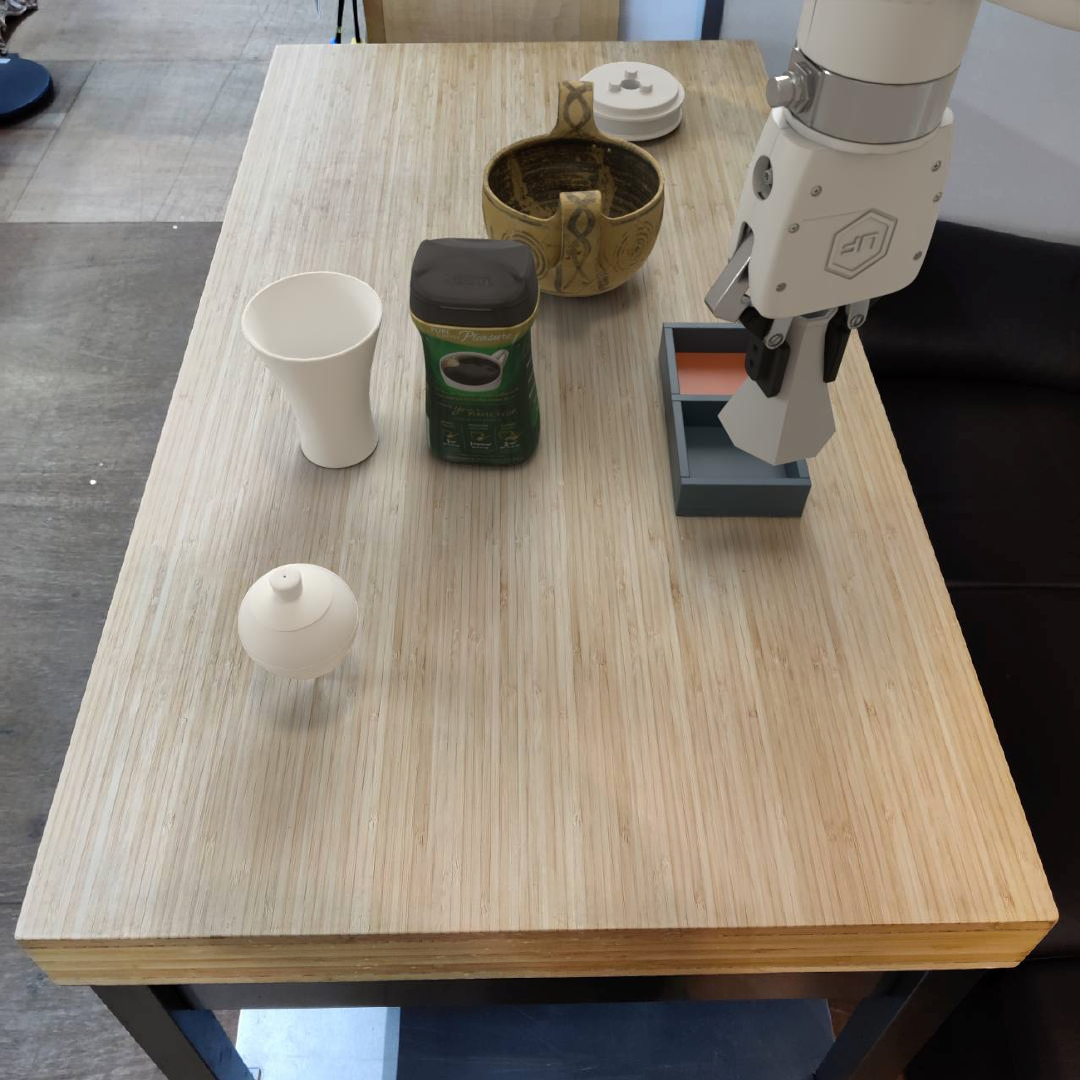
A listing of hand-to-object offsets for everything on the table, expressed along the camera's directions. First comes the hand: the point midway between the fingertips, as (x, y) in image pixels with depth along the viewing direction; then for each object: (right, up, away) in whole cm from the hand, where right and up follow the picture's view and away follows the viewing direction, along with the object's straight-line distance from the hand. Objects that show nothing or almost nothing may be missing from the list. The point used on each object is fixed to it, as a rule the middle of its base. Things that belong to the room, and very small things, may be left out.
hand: (790, 373), depth 61 cm
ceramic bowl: (-12, +16, +37) cm, 42 cm away
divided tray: (0, -1, +24) cm, 24 cm away
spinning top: (-31, -20, +9) cm, 38 cm away
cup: (-33, -2, +23) cm, 40 cm away
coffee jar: (-20, -2, +23) cm, 31 cm away
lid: (-5, +39, +56) cm, 68 cm away
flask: (0, -3, +4) cm, 5 cm away
